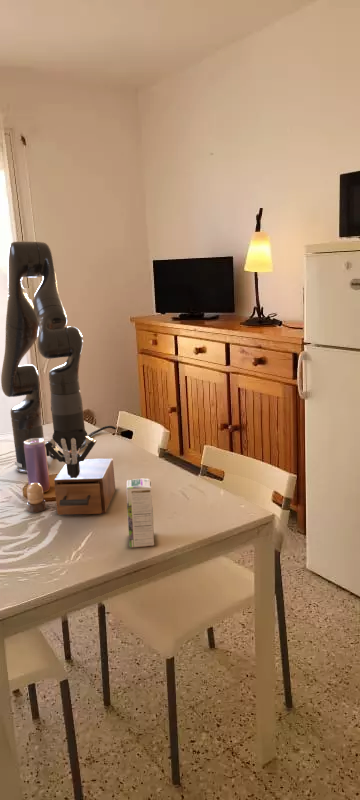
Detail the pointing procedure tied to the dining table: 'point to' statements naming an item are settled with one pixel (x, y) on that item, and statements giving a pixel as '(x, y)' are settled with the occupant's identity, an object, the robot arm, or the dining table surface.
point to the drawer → (78, 498)
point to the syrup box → (140, 512)
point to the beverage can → (37, 462)
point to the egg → (35, 498)
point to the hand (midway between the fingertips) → (74, 476)
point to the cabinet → (94, 477)
